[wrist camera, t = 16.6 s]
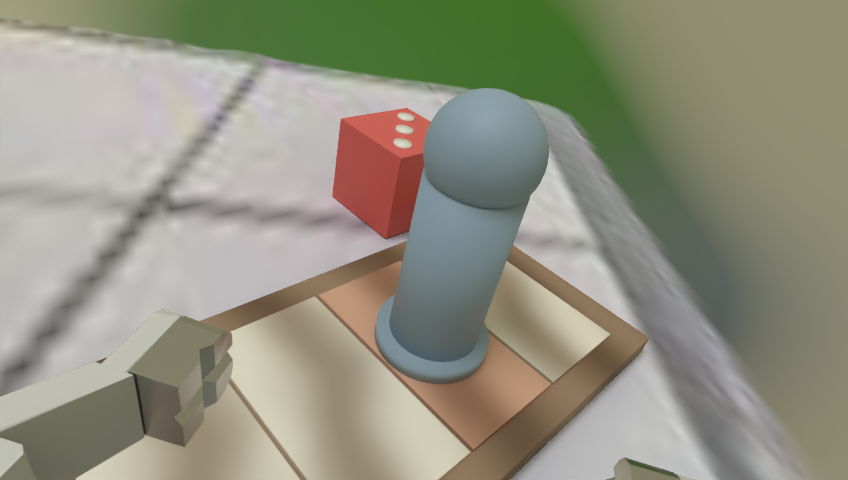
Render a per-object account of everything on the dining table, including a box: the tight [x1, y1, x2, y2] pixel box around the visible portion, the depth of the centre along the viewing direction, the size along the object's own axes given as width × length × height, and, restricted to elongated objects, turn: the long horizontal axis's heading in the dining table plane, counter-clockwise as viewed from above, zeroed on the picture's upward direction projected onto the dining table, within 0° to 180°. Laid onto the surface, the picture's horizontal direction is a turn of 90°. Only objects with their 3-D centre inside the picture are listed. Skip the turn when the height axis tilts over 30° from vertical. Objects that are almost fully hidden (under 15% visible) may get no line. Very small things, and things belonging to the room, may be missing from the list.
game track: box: [74, 241, 649, 480], centre depth 22 cm, size 34×14×1 cm, turn 134°
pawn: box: [374, 88, 549, 384], centre depth 22 cm, size 6×6×13 cm
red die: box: [333, 108, 431, 239], centre depth 36 cm, size 6×6×6 cm
